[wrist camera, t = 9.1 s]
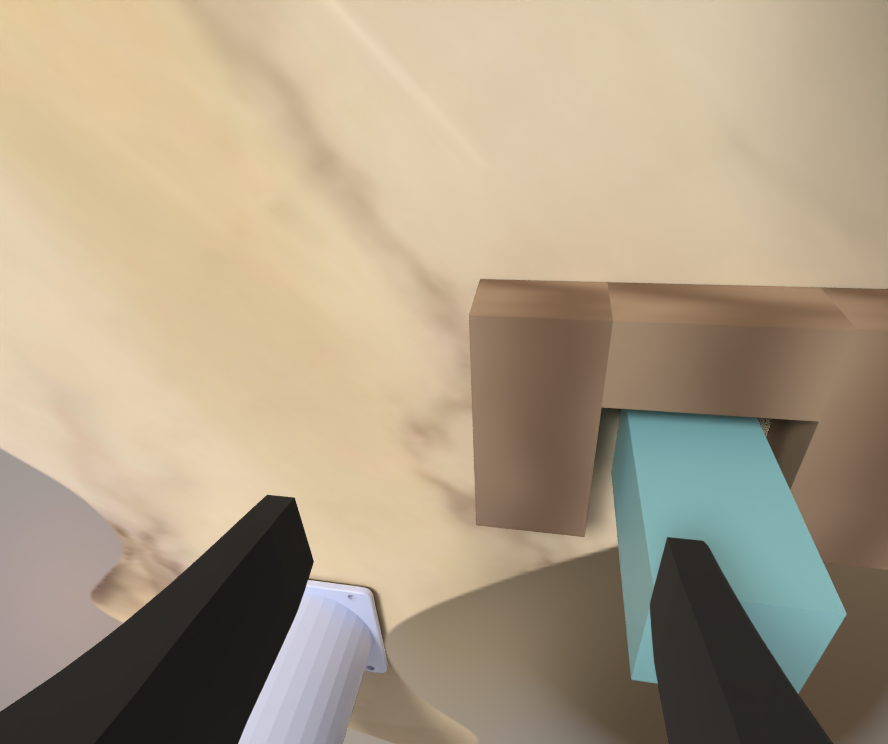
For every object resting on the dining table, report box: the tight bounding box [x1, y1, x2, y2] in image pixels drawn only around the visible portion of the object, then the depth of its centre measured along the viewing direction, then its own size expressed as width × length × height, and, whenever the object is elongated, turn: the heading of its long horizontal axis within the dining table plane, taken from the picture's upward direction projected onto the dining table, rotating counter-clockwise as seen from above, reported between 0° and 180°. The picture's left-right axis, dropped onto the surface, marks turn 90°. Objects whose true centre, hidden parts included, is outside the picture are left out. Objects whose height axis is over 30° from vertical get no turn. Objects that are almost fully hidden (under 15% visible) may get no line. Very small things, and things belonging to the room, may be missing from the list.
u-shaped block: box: [469, 279, 888, 570], centre depth 18 cm, size 14×9×2 cm, turn 93°
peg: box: [611, 409, 846, 694], centre depth 17 cm, size 4×4×8 cm
